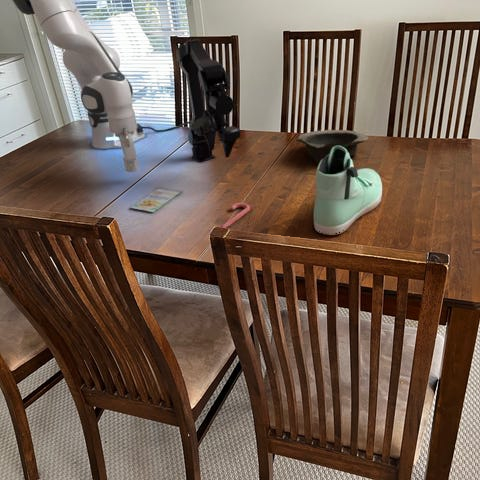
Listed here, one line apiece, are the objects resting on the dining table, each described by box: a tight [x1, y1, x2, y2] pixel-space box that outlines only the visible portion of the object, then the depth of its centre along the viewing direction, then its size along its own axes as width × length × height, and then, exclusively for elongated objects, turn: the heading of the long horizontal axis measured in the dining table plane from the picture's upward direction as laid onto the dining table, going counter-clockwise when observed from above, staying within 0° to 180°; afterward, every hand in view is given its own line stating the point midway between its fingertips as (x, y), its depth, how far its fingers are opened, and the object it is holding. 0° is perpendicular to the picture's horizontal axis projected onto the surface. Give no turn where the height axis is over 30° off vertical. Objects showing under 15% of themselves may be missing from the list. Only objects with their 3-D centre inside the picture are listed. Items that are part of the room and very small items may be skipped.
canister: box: [122, 156, 140, 173], centre depth 164 cm, size 4×4×4 cm
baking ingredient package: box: [130, 188, 181, 213], centre depth 152 cm, size 9×1×15 cm
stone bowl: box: [296, 129, 369, 165], centre depth 171 cm, size 25×25×9 cm
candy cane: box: [220, 202, 251, 229], centre depth 139 cm, size 6×15×2 cm, turn 145°
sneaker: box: [313, 146, 383, 236], centre depth 133 cm, size 14×35×20 cm, turn 152°
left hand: (130, 164), depth 164 cm, fingers closed on canister, 4 cm apart
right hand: (219, 153), depth 159 cm, fingers open, 9 cm apart
